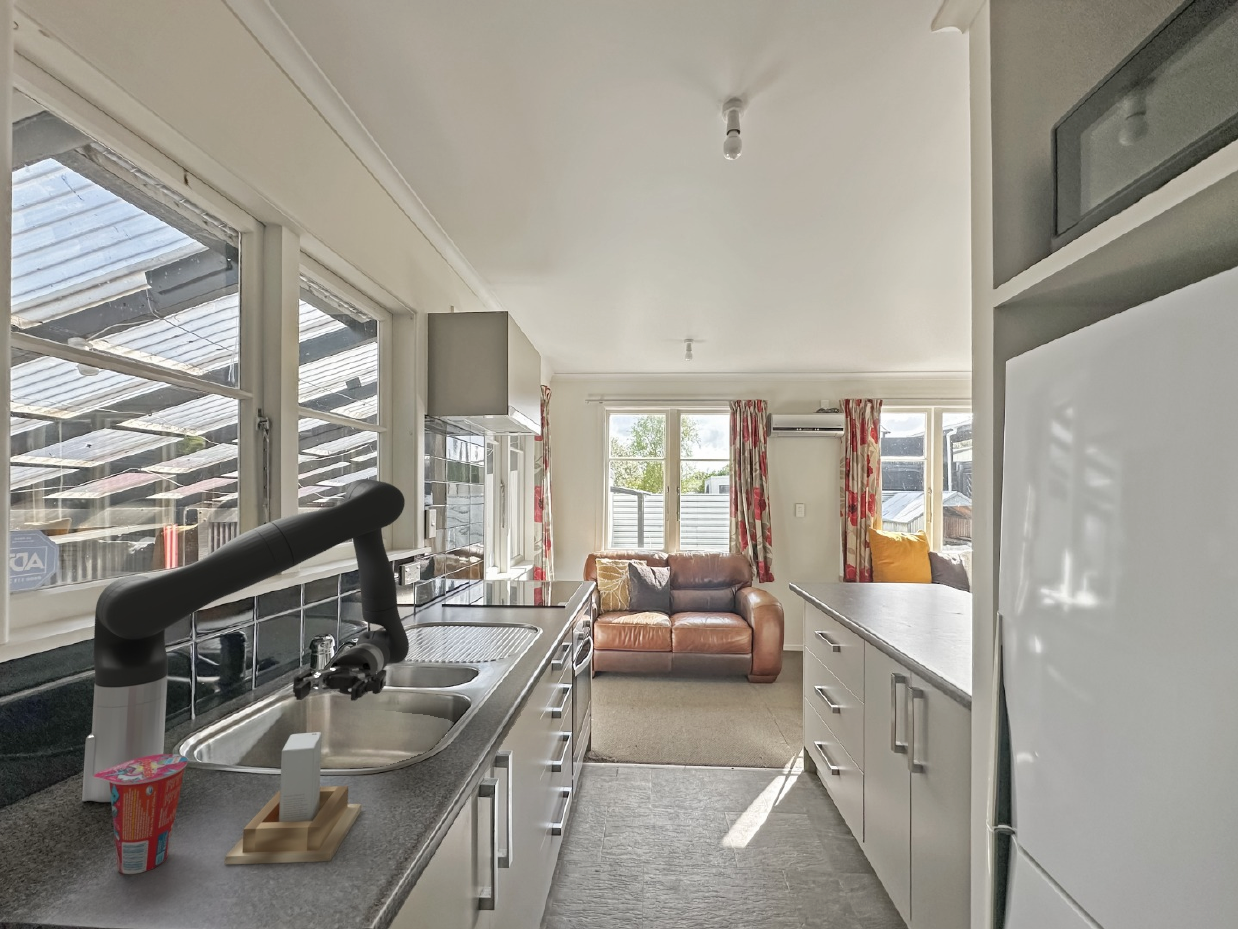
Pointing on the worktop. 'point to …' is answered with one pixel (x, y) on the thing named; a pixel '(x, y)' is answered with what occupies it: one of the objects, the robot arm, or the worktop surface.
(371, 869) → the worktop surface
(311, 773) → the skincare box
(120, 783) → the cup
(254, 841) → the socket holder
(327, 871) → the worktop surface
